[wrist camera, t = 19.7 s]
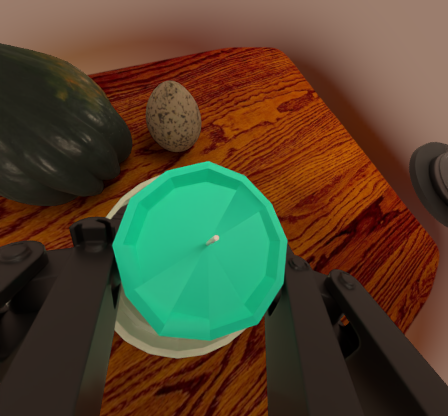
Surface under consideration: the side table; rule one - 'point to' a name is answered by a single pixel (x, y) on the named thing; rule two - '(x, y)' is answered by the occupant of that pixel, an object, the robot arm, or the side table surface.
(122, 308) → the bowl
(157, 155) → the side table surface
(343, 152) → the side table surface
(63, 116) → the squash
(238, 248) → the candle
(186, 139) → the decorative egg
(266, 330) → the robot arm
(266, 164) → the side table surface
